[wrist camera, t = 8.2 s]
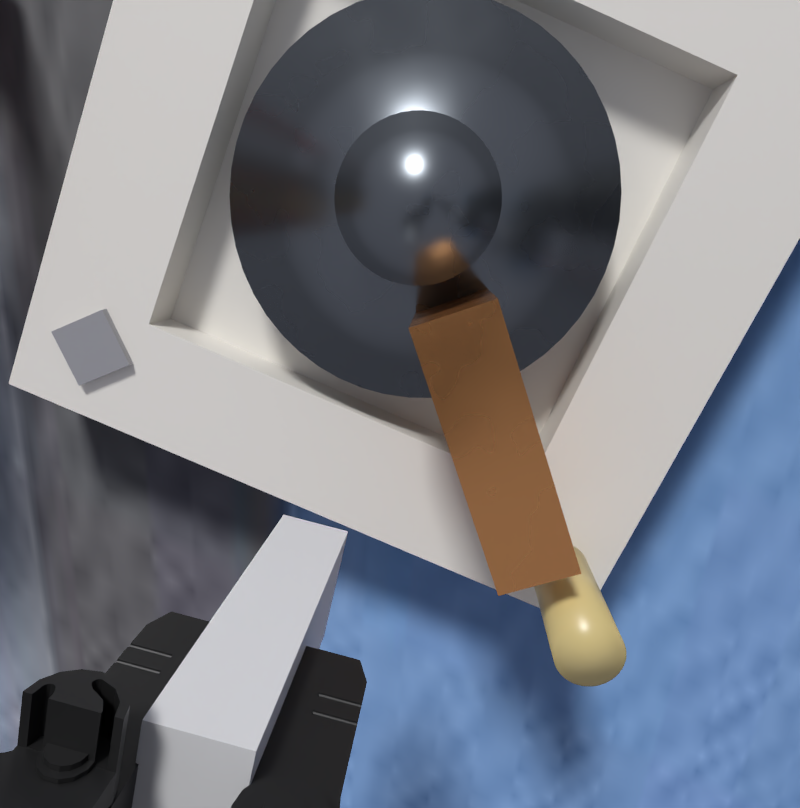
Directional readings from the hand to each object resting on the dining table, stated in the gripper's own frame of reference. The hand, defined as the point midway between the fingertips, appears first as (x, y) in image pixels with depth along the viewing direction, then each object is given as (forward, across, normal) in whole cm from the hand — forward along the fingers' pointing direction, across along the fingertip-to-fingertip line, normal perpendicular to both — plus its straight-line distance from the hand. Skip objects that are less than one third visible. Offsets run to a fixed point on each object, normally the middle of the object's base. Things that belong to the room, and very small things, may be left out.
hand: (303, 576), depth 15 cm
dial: (+10, +1, +7) cm, 12 cm away
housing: (+12, 0, +9) cm, 15 cm away
